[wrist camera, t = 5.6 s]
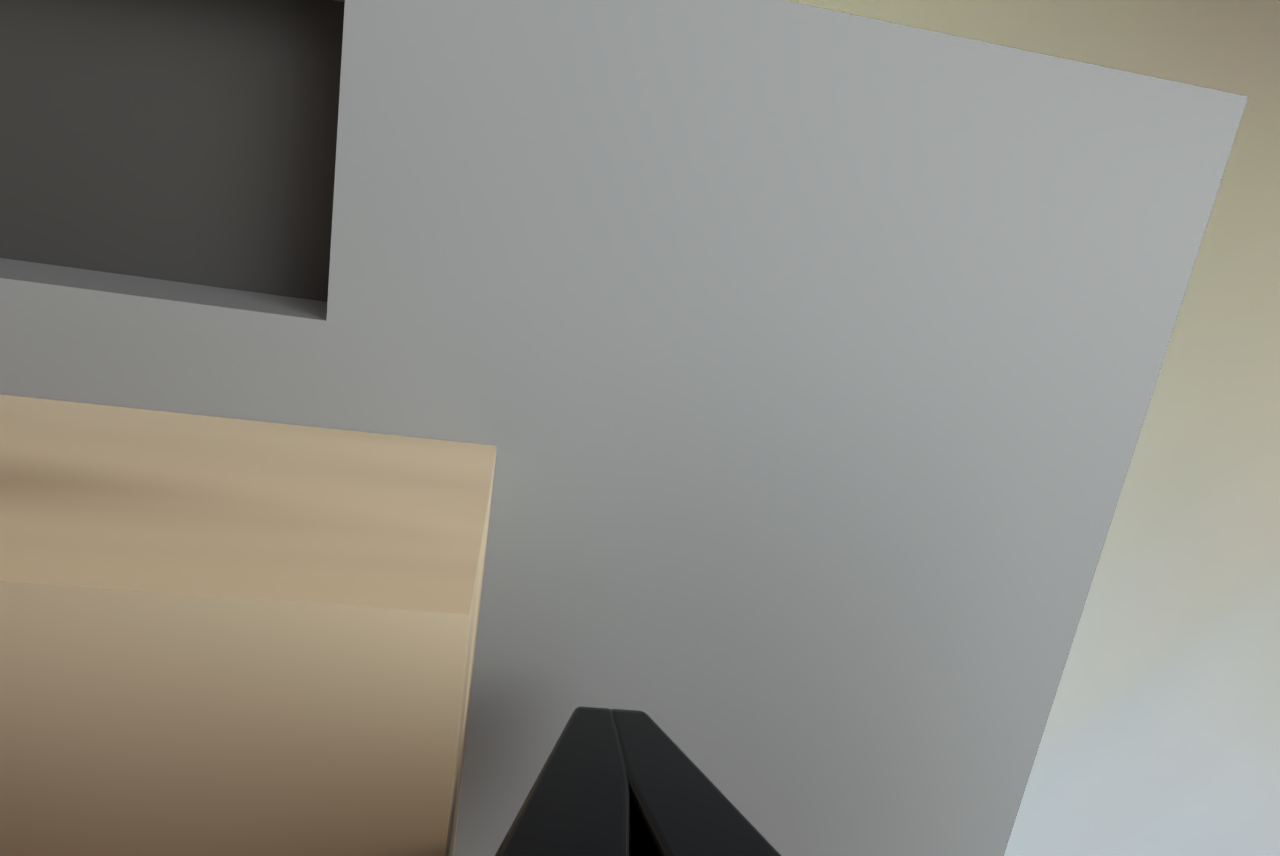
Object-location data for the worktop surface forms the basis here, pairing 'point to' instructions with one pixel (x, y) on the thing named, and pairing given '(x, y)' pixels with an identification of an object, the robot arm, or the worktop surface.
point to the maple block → (233, 634)
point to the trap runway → (652, 344)
